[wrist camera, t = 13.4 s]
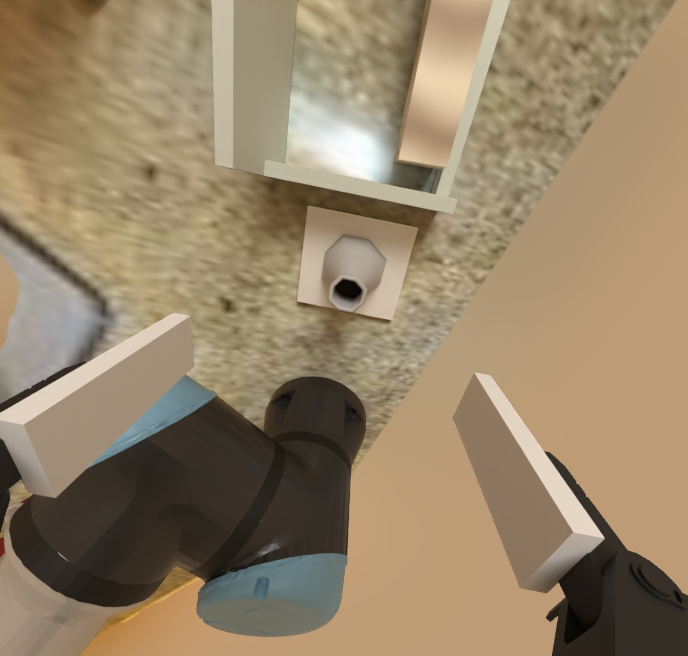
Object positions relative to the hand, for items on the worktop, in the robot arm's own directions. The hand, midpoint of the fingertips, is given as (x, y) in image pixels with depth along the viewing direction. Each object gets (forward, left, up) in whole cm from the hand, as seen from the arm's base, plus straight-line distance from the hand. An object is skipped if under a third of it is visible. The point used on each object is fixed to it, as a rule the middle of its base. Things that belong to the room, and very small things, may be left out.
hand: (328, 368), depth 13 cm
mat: (0, 0, -22) cm, 22 cm away
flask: (0, 0, -21) cm, 21 cm away
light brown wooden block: (+19, -4, -22) cm, 29 cm away
